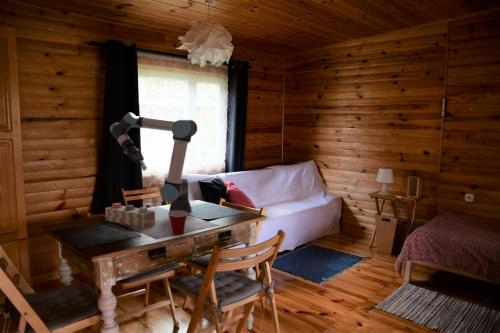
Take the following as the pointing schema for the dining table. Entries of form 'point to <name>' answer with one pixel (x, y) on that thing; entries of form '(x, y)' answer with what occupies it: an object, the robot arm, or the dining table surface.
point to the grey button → (129, 207)
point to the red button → (116, 205)
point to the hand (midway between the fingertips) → (145, 169)
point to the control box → (130, 216)
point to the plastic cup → (177, 221)
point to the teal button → (143, 210)
